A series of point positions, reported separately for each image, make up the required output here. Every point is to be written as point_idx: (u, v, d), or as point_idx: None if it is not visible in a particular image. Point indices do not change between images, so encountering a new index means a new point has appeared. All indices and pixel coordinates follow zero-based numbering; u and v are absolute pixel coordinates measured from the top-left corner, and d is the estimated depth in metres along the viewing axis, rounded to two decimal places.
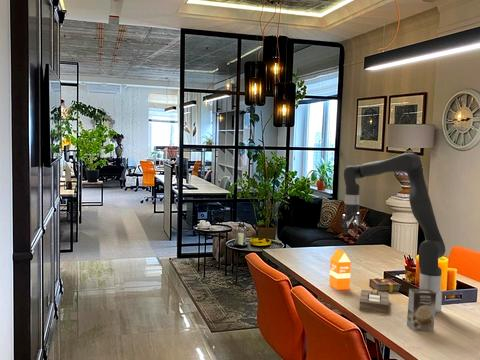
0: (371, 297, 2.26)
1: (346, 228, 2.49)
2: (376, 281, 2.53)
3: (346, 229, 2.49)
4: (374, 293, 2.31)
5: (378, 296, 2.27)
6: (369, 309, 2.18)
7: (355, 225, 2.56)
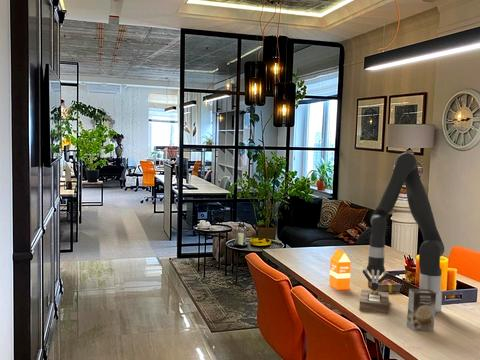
0: (371, 297, 2.26)
1: None
2: (375, 281, 2.52)
3: None
4: (374, 293, 2.31)
5: (378, 296, 2.27)
6: (369, 309, 2.18)
7: (374, 282, 2.33)
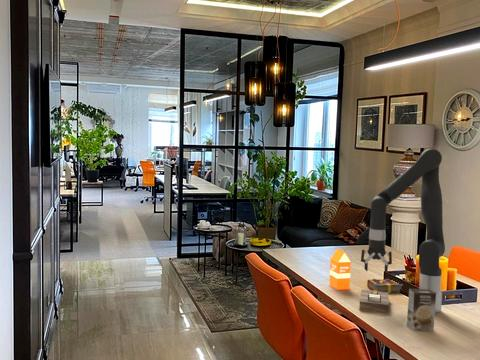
0: (371, 295, 2.26)
1: None
2: (374, 282, 2.52)
3: None
4: (374, 293, 2.31)
5: (378, 295, 2.28)
6: (369, 309, 2.18)
7: (367, 263, 2.29)
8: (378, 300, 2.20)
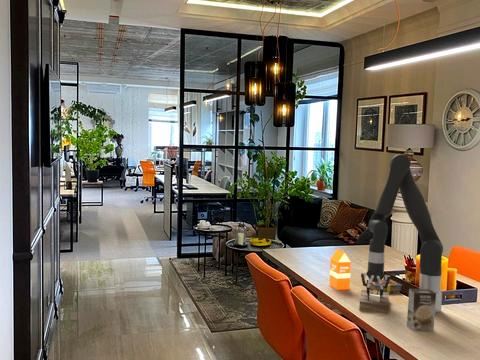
0: (371, 295, 2.26)
1: None
2: (373, 282, 2.51)
3: None
4: (374, 293, 2.31)
5: (378, 295, 2.28)
6: (369, 309, 2.18)
7: (369, 287, 2.29)
8: (378, 300, 2.20)
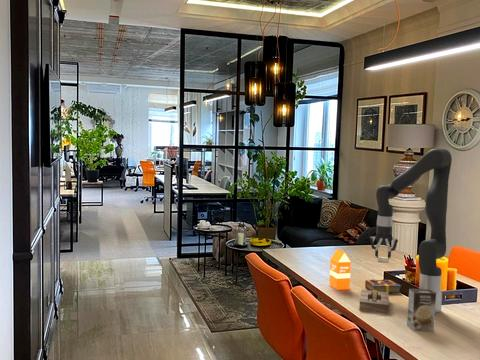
0: (380, 257, 2.38)
1: None
2: (372, 282, 2.50)
3: None
4: (374, 293, 2.31)
5: (386, 257, 2.40)
6: (369, 309, 2.18)
7: None
8: (387, 261, 2.32)
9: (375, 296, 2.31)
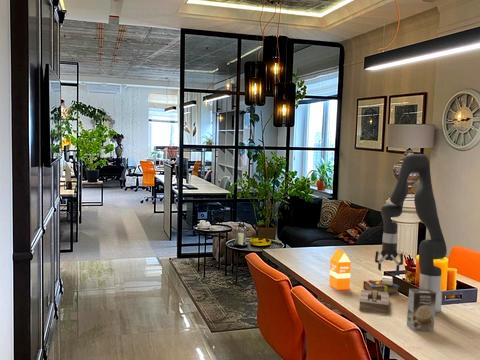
0: (384, 277, 2.51)
1: None
2: (370, 283, 2.49)
3: None
4: (374, 293, 2.31)
5: (390, 277, 2.52)
6: (369, 309, 2.18)
7: (380, 263, 2.54)
8: (391, 283, 2.45)
9: (375, 296, 2.31)
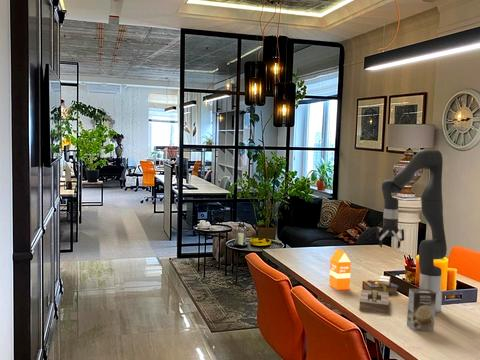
0: (381, 277, 2.51)
1: None
2: (369, 283, 2.49)
3: None
4: (374, 293, 2.31)
5: (388, 277, 2.52)
6: (369, 309, 2.18)
7: (381, 240, 2.53)
8: (387, 283, 2.44)
9: (375, 296, 2.31)
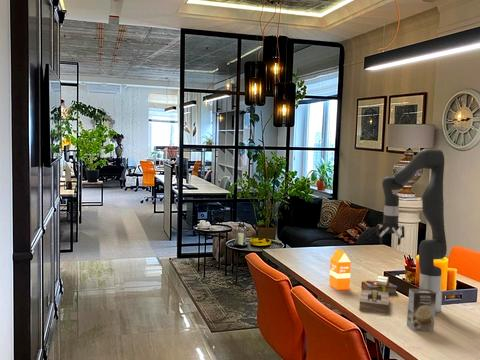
0: (379, 278, 2.50)
1: None
2: (368, 284, 2.48)
3: None
4: (374, 293, 2.31)
5: (386, 277, 2.51)
6: (369, 309, 2.18)
7: None
8: (385, 284, 2.43)
9: (375, 296, 2.31)
